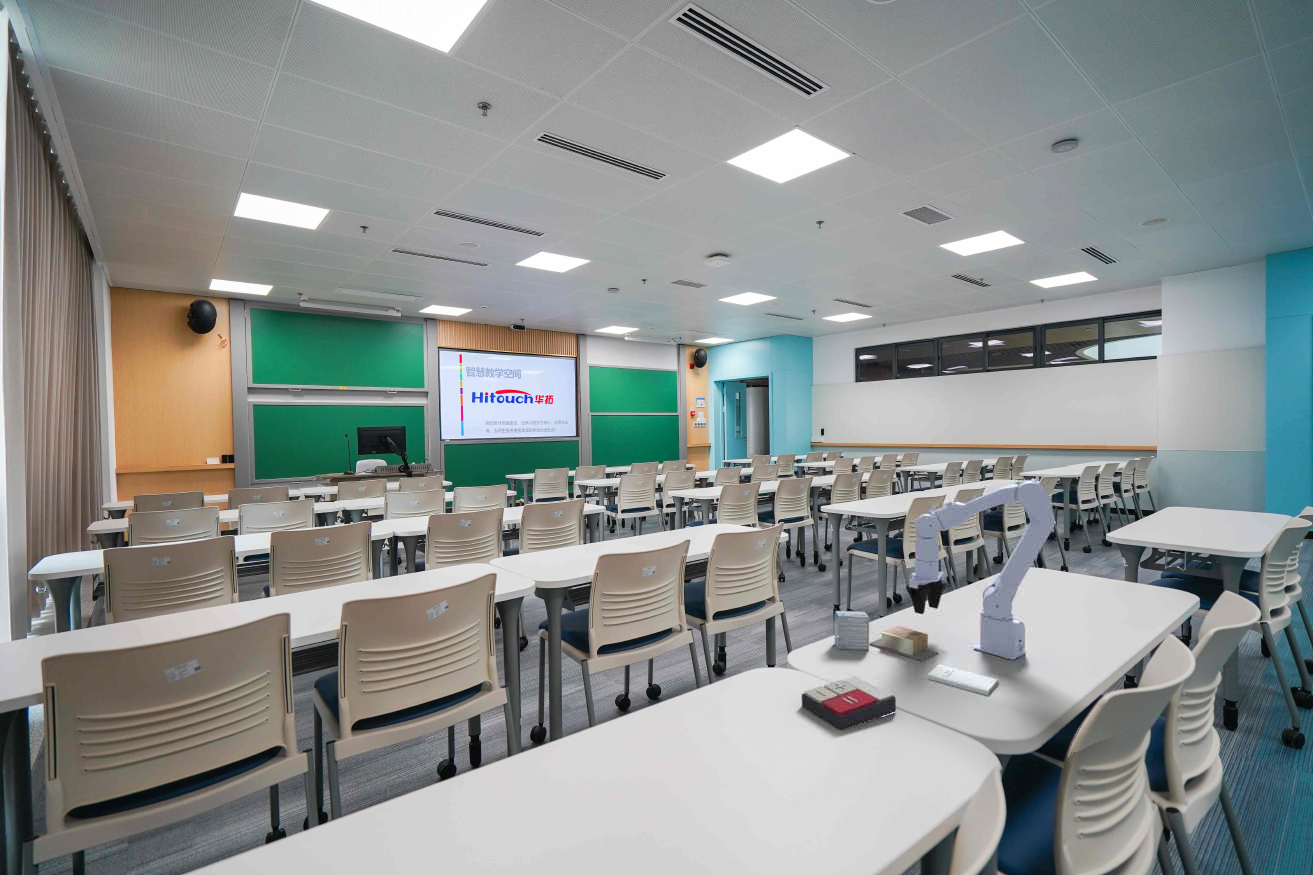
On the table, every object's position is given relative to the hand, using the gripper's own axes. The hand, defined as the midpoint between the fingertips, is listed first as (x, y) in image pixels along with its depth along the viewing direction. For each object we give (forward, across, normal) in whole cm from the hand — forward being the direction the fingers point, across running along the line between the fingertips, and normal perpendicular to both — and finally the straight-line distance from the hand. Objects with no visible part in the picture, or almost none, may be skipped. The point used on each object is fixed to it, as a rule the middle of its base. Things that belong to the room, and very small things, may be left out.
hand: (926, 610), depth 159 cm
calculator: (+8, +51, +10) cm, 52 cm away
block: (+6, +7, 0) cm, 9 cm away
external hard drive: (+9, +19, +18) cm, 27 cm away
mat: (+8, +12, 0) cm, 14 cm away
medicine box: (+8, +20, -9) cm, 24 cm away
